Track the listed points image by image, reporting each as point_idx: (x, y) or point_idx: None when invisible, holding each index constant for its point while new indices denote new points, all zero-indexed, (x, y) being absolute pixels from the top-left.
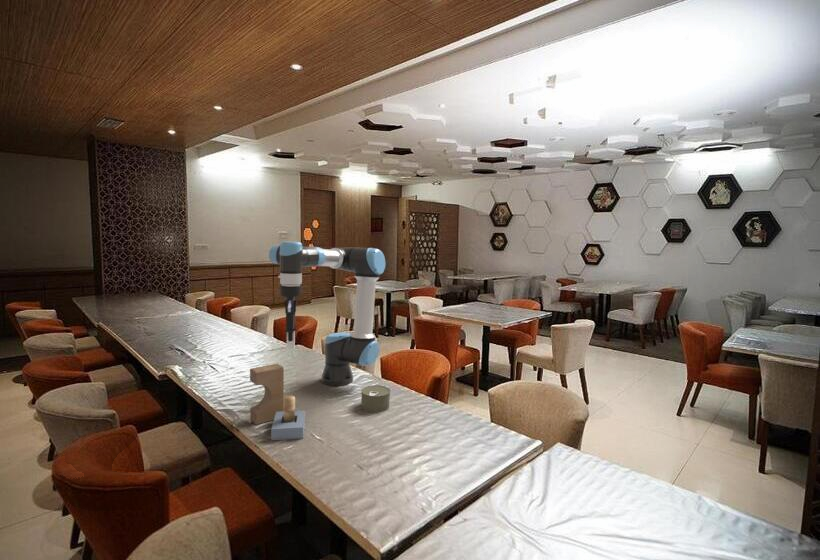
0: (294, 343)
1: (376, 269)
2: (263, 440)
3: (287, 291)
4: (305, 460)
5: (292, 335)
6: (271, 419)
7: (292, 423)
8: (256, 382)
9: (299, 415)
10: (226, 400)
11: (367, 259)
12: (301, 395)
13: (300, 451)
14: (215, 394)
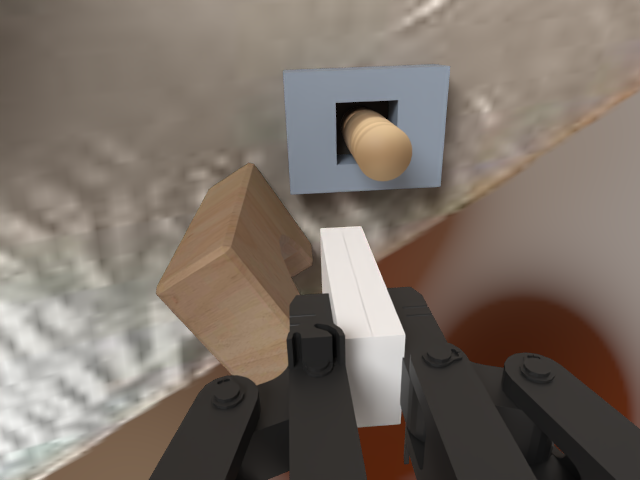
0: (352, 252)
1: None
2: (423, 199)
3: None
4: (588, 39)
5: (410, 326)
6: (280, 202)
7: (407, 114)
8: None
9: (335, 94)
10: (109, 376)
11: None
12: (9, 115)
13: (525, 64)
14: (61, 418)
